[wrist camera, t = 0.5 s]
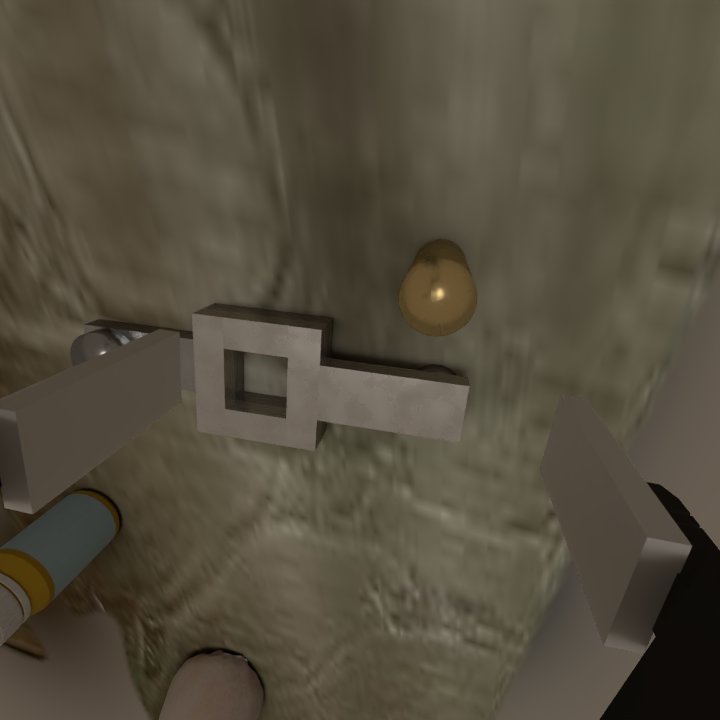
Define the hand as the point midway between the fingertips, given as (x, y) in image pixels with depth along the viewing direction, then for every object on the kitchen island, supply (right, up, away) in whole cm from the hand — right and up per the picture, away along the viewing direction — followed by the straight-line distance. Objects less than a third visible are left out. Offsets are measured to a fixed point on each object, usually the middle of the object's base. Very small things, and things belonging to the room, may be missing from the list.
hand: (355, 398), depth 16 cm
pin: (+7, +9, +21) cm, 24 cm away
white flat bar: (-8, +1, +27) cm, 28 cm away
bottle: (-30, -16, +37) cm, 50 cm away
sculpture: (-17, -40, +43) cm, 61 cm away
